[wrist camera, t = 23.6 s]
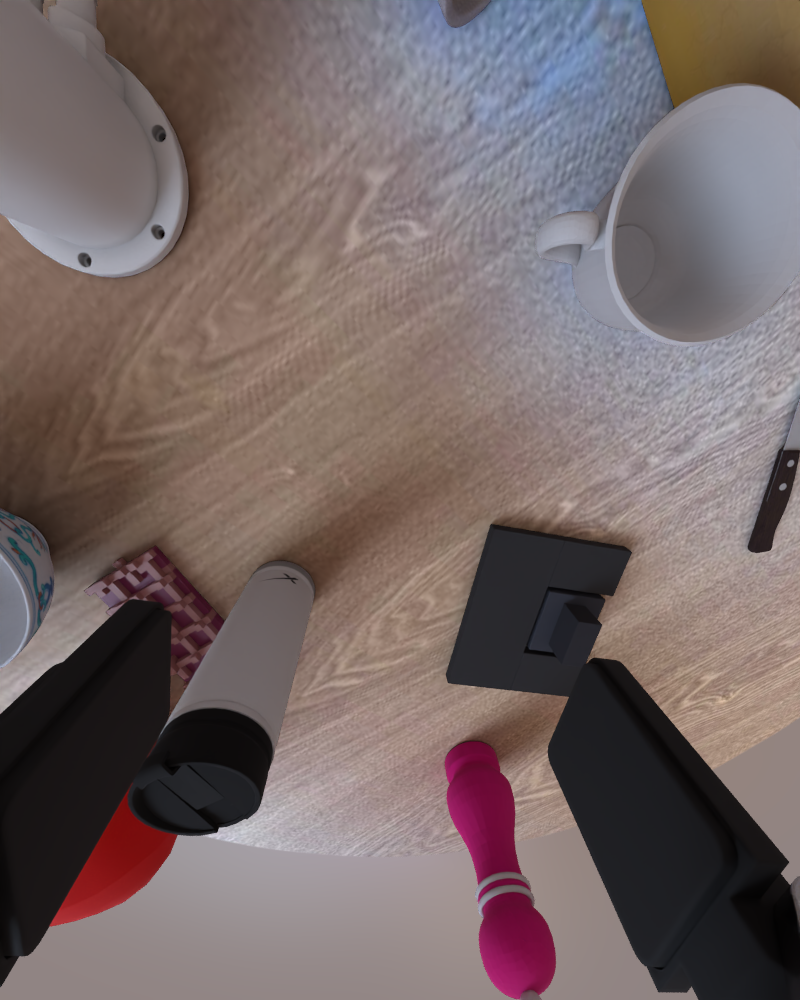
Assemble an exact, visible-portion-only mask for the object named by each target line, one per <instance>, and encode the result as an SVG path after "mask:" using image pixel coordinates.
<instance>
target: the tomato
mask: <svg viewBox="0 0 800 1000" xmlns="http://www.w3.org/2000/svg"><path fill="white" fill-rule="evenodd" d="M156 742H157V741H156ZM156 742H155V744H156ZM155 744H154V746H155ZM154 746H153V747H154ZM152 749H153V748H152ZM152 749H151V750H152ZM150 752H151V751H150ZM149 754H150V753H149ZM148 756H149V755H148ZM148 756H147V757H148ZM132 783H133V782H132ZM131 785H132V784H131ZM130 787H131V786H130ZM130 787H129V789H130ZM129 789H128V791H127V793H126V794H125V796H124V798H123V800H122V801H121V803H120V805H119V807H118V808H117V810H116V812H115V813H114V815H113V817H112V819H111V820H110V822H109V824H108V826H107V827H106V829H105V831H104V832H103V834H102V836H101V838H100V839H99V841H98V843H97V845H96V846H95V848H94V850H93V852H92V853H91V855H90V857H89V858H88V860H87V862H86V864H85V865H84V867H83V869H82V871H81V872H80V874H79V876H78V878H77V879H76V881H75V883H74V884H73V886H72V888H71V890H70V891H69V893H68V895H67V897H66V898H65V900H64V902H63V903H62V905H61V907H60V909H59V910H58V912H57V914H56V916H55V917H54V919H53V921H52V923H51V924H50V926H55V925H60V924H64V923H69V922H73V921H77V920H80V919H83V918H86V917H89V916H92V915H95V914H98V913H100V912H103V911H105V910H107V909H109V908H112V907H114V906H116V905H119V904H121V903H123V902H124V901H126V900H127V899H128V898H130V897H131V896H132V895H133V894H135V893H136V892H137V891H138V890H140V889H141V888H143V887H144V886H145V885H147V883H148V882H149V881H150V880H151V878H152V877H153V876H154V875H155V873H156V872H157V871H158V870H159V868H160V867H161V865H162V864H163V863H164V861H165V860H166V859H167V857H168V856H169V854H170V853H171V850H172V848H173V845H174V843H175V840H176V838H177V835H176V834H171V833H166V832H162V831H159V830H156V829H153V828H151V827H149V826H147V825H145V824H144V823H142V822H141V821H140V820H138V819H137V818H136V817H135V816H134V815H133V813H132V812H131V810H130V808H129V806H128V799H127V796H128V792H129Z"/></svg>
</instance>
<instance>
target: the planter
mask: <svg viewBox="0 0 800 1000" xmlns="http://www.w3.org/2000/svg"><path fill="white" fill-rule="evenodd" d="M490 1H491V0H438V2H439V5H440V7H441V10H442V12H443V15H444V17H445V20H446V22H447V23H448V24H449V25H450V26H451V27H454V28H457V27H461V26H463V25H465V24H467V23H468V22H470V21H471V20H472V19H473V18H475V17H476V16H477V15H478V14H479V13H480V12H481V11H482V10H483V9H484V8H485V7H486V6H487V5H488V3H489V2H490Z"/></svg>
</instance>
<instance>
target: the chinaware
mask: <svg viewBox="0 0 800 1000" xmlns="http://www.w3.org/2000/svg"><path fill="white" fill-rule="evenodd" d="M53 592H54V569H53V564H52V561H51V558H50V551H49V547H48V544H47V542H46V540H45V538H44V537H43V535H42V534H41V533H40V532H39V531H38V530H37V529H36V528H35V527H34V526H33V525H32V524H30V523H29V522H27V521H26V520H24V519H22V518H20V517H18V516H15V515H13V514H11V513H9V512H7V511H5V510H4V509H2V508H0V669H1V668H2V667H4V666H5V665H7V664H8V663H9V662H11V661H12V660H13V659H14V658H15V657H16V656H17V655H18V654H19V653H20V652H21V651H22V650H23V648H24V647H25V646H26V645H27V644H28V642H29V641H30V640H31V639H32V637H33V636H34V634H35V633H36V632H37V630H38V628H39V627H40V625H41V624H42V622H43V620H44V618H45V616H46V614H47V612H48V609H49V607H50V604H51V601H52V597H53Z"/></svg>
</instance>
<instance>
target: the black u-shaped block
mask: <svg viewBox="0 0 800 1000" xmlns="http://www.w3.org/2000/svg"><path fill="white" fill-rule="evenodd" d="M631 553H632V552H631V551H630V550H628V549H627V548H626V547H623V546H617V545H612V544H606V543H600V542H594V541H588V540H582V539H576V538H570V537H564V536H558V535H553V534H547V533H541V532H535V531H529V530H523V529H517V528H511V527H505V526H499V525H493V524H491V525H490V529H489V532H488V535H487V539H486V542H485V545H484V549H483V552H482V555H481V559H480V562H479V566H478V569H477V572H476V576H475V579H474V582H473V586H472V589H471V592H470V596H469V599H468V603H467V606H466V609H465V613H464V616H463V619H462V623H461V626H460V629H459V633H458V636H457V639H456V643H455V646H454V650H453V653H452V656H451V660H450V663H449V666H448V670H447V673H446V677H447V681H448V683H451V684H460V685H468V686H477V687H486V688H495V689H504V690H514V691H523V692H532V693H540V694H549V695H558V696H567V697H569V696H570V694H571V692H572V689H573V687H574V685H575V682H576V680H577V678H578V675H579V673H580V671H581V669H582V667H576V666H568V665H562V664H561V663H560V662H559V660H558V658H557V657H556V655H555V654H554V652H546V651H538V650H530V649H529V648H528V646H526V645H527V642H528V640H529V637H530V634H531V631H532V629H533V626H534V623H535V620H536V618H537V615H538V612H539V610H540V607H541V604H542V601H543V599H544V596H545V593H546V591H547V588H548V586H549V587H556V588H563V589H569V590H576V591H583V592H589V593H596V594H603V595H609V596H613V595H614V593H615V590H616V588H617V586H618V583H619V581H620V579H621V576H622V574H623V572H624V569H625V567H626V565H627V562H628V560H629V558H630V556H631Z"/></svg>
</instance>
